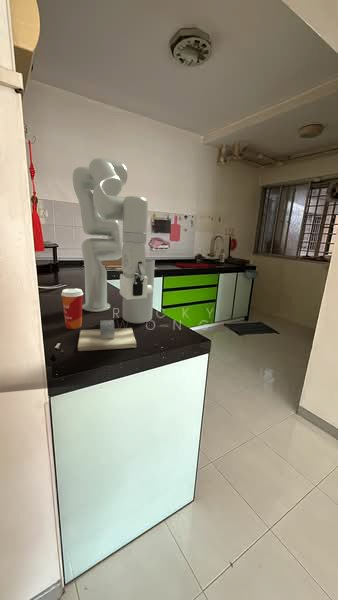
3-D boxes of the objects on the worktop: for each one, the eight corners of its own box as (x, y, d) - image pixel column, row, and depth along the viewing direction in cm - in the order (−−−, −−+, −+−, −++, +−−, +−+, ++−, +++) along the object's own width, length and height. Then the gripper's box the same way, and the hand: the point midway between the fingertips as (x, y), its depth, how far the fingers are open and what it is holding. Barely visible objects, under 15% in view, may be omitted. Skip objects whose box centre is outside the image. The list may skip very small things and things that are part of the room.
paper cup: (62, 323, 98) (60, 288, 94) (83, 321, 101) (82, 287, 97) (63, 331, 91) (61, 293, 87) (85, 329, 94) (84, 292, 90)
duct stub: (100, 334, 87) (100, 320, 86) (113, 333, 88) (113, 320, 87) (100, 339, 83) (100, 325, 82) (114, 338, 84) (114, 324, 83)
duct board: (80, 333, 90) (80, 330, 89) (131, 331, 95) (131, 327, 94) (77, 351, 78) (77, 346, 77) (136, 347, 83) (136, 343, 82)
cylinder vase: (126, 325, 100) (127, 262, 93) (119, 314, 111) (120, 257, 104) (155, 322, 105) (159, 262, 98) (147, 312, 116) (149, 258, 109)
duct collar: (119, 294, 87) (120, 273, 85) (146, 292, 92) (147, 273, 90) (127, 299, 81) (127, 278, 79) (154, 297, 86) (155, 276, 84)
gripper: (114, 236, 86) (114, 287, 91) (133, 240, 71) (132, 300, 76) (135, 237, 89) (133, 286, 94) (157, 241, 75) (154, 298, 80)
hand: (133, 292), depth 85 cm, fingers closed on duct collar, 7 cm apart
